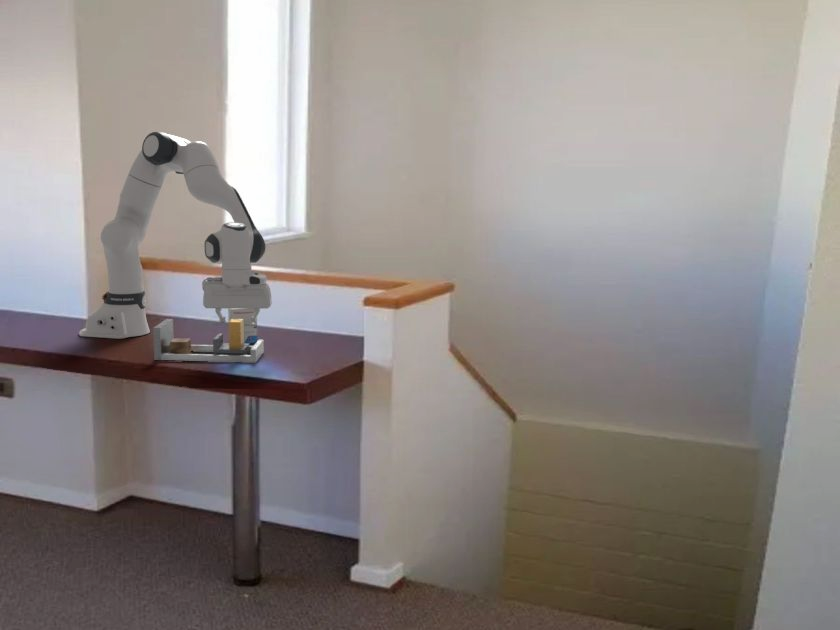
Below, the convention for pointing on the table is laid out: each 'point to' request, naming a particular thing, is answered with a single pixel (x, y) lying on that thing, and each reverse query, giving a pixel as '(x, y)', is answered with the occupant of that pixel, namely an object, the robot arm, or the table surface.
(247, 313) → the ink box
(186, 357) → the frame
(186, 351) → the wooden cube
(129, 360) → the table surface
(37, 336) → the table surface
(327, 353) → the table surface
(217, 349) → the slider
